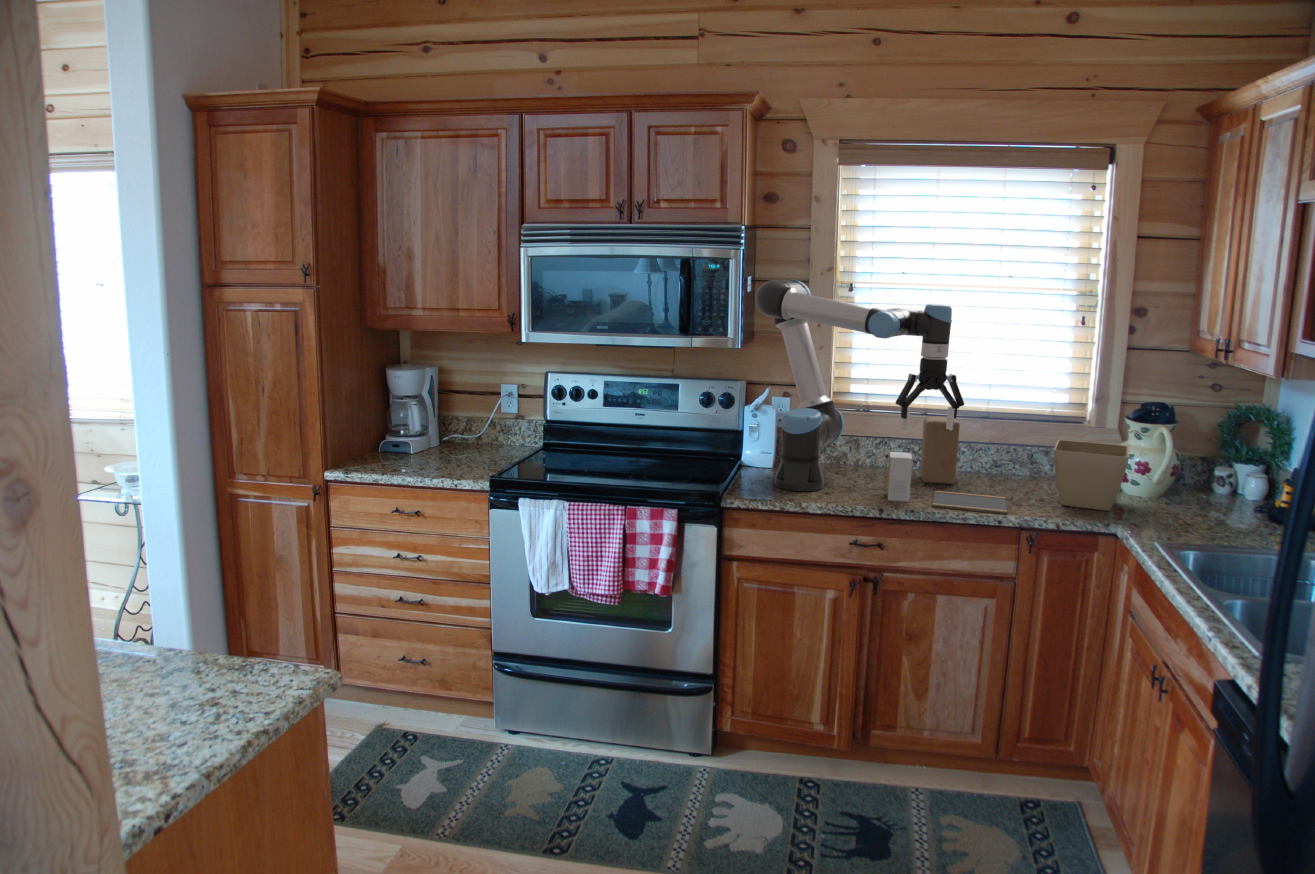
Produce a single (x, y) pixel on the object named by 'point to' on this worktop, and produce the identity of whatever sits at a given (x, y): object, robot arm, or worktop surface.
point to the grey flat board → (970, 502)
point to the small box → (899, 476)
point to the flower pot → (1089, 473)
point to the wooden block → (939, 451)
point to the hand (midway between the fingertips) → (927, 429)
